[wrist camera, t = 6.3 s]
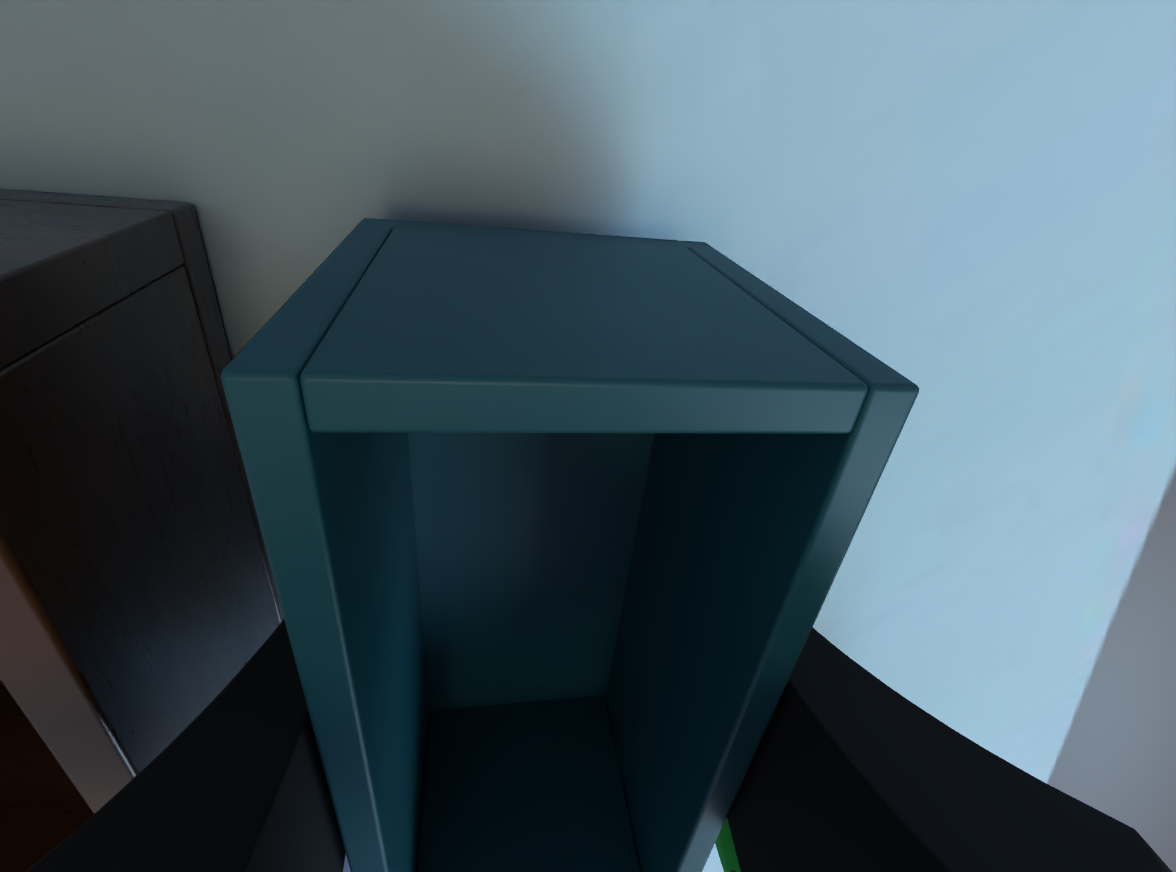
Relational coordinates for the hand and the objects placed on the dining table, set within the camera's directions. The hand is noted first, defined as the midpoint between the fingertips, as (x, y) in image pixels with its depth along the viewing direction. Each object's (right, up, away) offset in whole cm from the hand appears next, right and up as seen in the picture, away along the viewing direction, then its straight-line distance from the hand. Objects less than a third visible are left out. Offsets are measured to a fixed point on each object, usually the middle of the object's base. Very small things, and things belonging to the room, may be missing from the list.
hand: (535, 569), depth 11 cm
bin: (0, +1, +1) cm, 1 cm away
